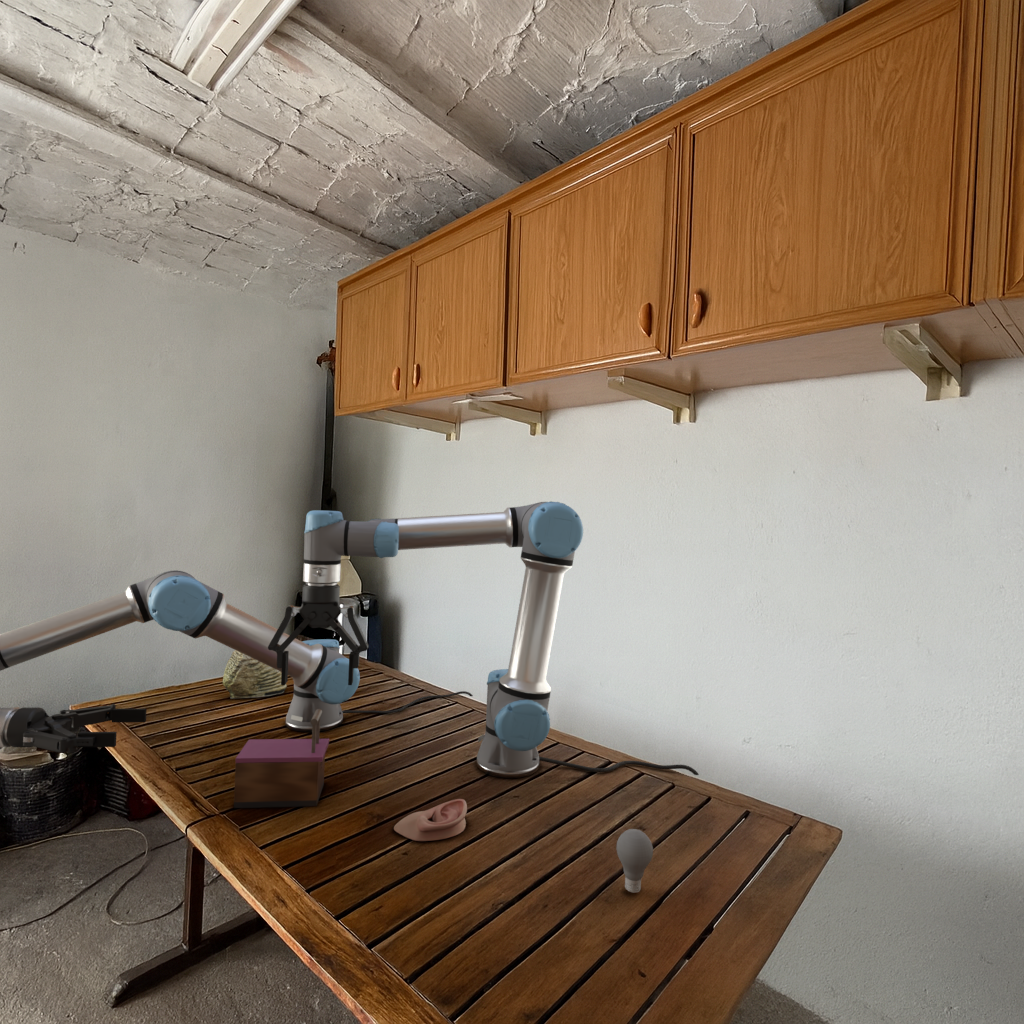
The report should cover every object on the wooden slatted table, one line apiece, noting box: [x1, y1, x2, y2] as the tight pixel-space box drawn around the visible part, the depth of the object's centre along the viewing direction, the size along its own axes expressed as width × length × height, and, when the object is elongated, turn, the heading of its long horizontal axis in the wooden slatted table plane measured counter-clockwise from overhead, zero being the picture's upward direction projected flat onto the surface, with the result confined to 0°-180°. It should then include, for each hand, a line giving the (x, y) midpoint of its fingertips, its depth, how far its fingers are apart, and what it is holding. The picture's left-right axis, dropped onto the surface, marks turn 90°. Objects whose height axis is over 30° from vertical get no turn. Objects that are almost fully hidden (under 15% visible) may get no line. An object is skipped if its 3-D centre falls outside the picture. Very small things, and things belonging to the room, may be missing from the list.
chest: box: [233, 754, 326, 809], centre depth 133 cm, size 16×10×9 cm, turn 98°
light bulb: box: [615, 828, 654, 894], centre depth 106 cm, size 6×6×10 cm
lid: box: [235, 709, 330, 764], centre depth 133 cm, size 17×10×8 cm, turn 98°
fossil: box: [222, 650, 288, 699], centre depth 198 cm, size 9×18×15 cm, turn 132°
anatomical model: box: [393, 798, 468, 842], centre depth 123 cm, size 13×4×12 cm
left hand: (131, 726), depth 129 cm, fingers open, 13 cm apart
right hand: (317, 683), depth 134 cm, fingers open, 13 cm apart
